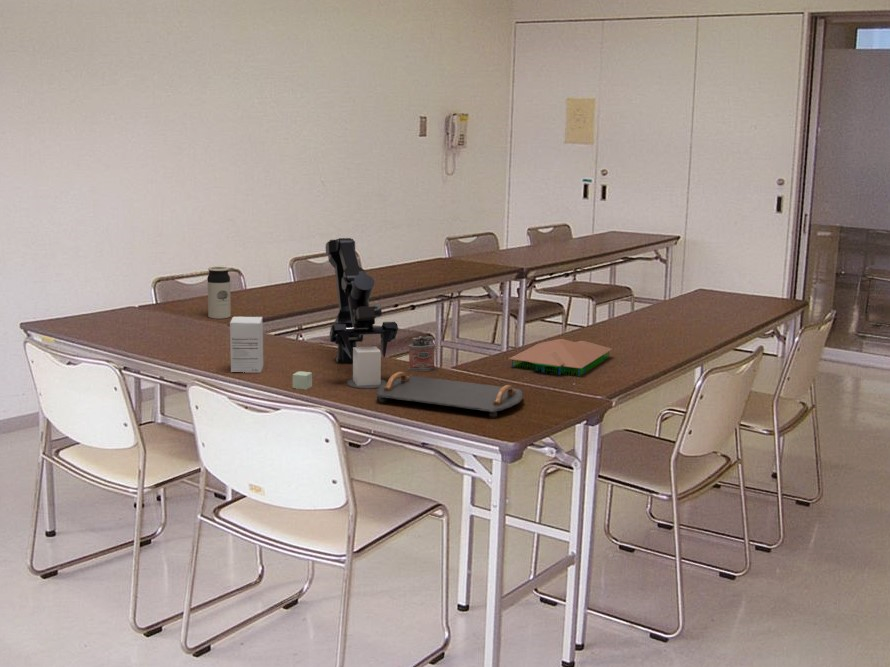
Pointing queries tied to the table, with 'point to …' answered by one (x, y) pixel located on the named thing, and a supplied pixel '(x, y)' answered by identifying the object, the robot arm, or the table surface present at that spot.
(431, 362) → the lighter
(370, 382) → the white upright block
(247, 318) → the supplement box
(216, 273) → the travel mug
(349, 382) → the mat
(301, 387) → the block
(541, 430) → the table surface
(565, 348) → the house
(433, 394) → the serving board
